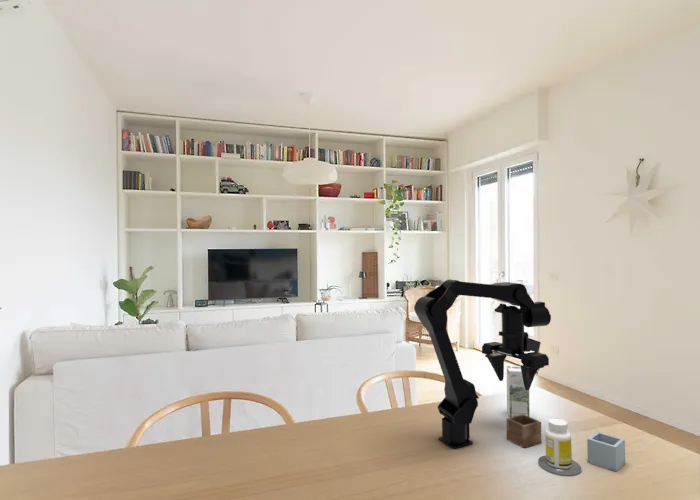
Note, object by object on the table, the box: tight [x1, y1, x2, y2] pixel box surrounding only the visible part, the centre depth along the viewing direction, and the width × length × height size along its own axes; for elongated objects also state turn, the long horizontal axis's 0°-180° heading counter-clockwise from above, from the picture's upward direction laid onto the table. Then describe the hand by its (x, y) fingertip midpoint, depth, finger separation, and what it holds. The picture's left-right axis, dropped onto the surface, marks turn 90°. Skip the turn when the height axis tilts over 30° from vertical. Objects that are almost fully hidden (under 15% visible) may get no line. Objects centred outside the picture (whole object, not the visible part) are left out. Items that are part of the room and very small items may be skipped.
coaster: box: [537, 454, 582, 477], centre depth 100 cm, size 9×9×1 cm
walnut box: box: [505, 414, 543, 449], centre depth 113 cm, size 6×6×6 cm
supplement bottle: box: [545, 418, 573, 469], centre depth 100 cm, size 5×5×10 cm
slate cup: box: [586, 431, 626, 473], centre depth 101 cm, size 6×6×6 cm
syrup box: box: [506, 365, 531, 418], centre depth 130 cm, size 6×6×14 cm
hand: (513, 385), depth 118 cm, fingers open, 9 cm apart
